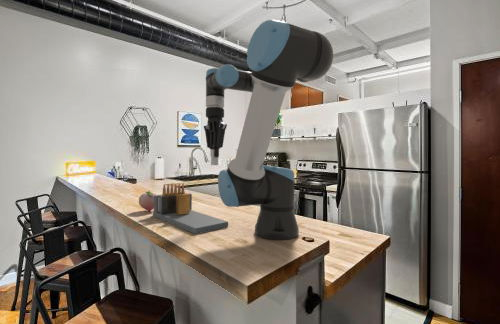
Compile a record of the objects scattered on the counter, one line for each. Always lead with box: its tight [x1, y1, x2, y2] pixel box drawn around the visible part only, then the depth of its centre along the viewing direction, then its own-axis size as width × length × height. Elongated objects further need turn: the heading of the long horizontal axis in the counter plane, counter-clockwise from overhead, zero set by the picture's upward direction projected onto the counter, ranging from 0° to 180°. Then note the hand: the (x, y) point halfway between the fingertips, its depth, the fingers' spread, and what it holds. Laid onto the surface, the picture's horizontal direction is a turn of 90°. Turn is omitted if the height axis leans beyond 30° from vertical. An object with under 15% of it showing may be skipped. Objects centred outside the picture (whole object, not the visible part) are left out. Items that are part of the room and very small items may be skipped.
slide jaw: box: [159, 193, 193, 215], centre depth 111 cm, size 8×14×8 cm, turn 133°
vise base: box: [152, 192, 229, 235], centre depth 106 cm, size 35×14×9 cm, turn 43°
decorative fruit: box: [138, 191, 157, 212], centre depth 122 cm, size 9×8×10 cm
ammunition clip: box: [161, 183, 186, 196], centre depth 115 cm, size 11×2×12 cm, turn 133°
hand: (214, 165), depth 108 cm, fingers closed
